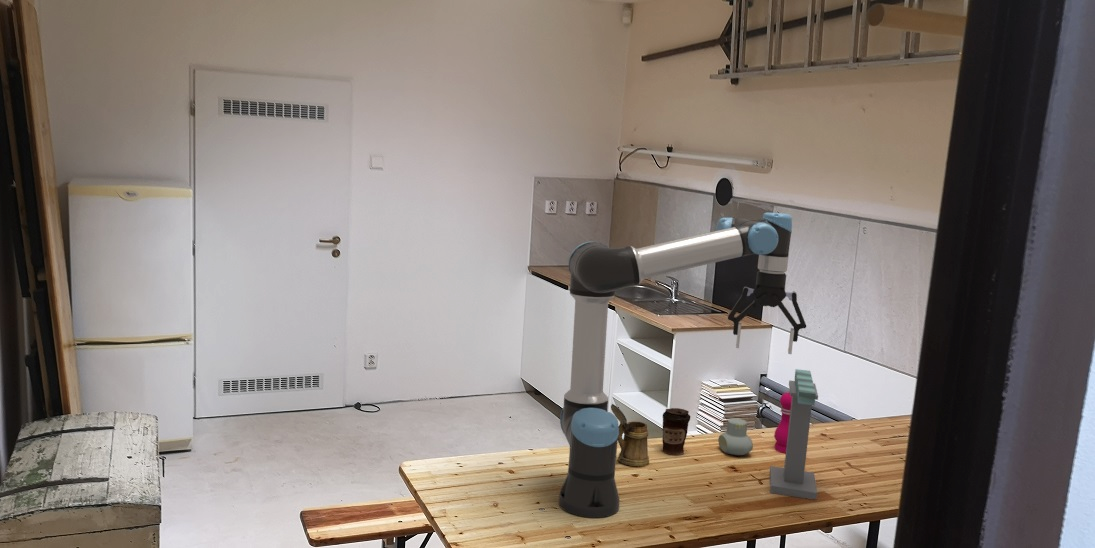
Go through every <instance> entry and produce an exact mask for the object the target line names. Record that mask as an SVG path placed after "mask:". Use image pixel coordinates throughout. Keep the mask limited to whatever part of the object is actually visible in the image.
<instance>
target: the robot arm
mask: <svg viewBox="0 0 1095 548" xmlns="http://www.w3.org/2000/svg"><path fill="white" fill-rule="evenodd" d="M792 228H793V218H792V215H790V214H789V213H780V212H765V213H763V216H762V219H761V218H760V219H751V218H740V217H739V218H738V217H731V216H730V217H722V218H720V219H718V221H717V224H716V227H715V231H711V232H706V233H703V234H697V235H692V236H688V237H683V238H678V239H676V240H670V241H665V242H662V243H661V242H660V243H656V244H652V245H647V246H643V247H639V248H635V247H634V246H632V245H629V246H623V247H608V245H606V244H604V243H602V242H598V241H597V242H596V241H587V242H583V243H581V244H579V245H577V246H576V247H575V248H574V249H573V250H572V252H571V253H570V256H569V259H568V264H567V265H568V270H569V274H570V278H569V279H570V282H569V283H570V284H569V294H570V296H571V297H572V298H573V299H574V316H573V333H572V334H573V337H572V351H571V352H572V353H571V372H570V388H569V389H568V390H567V392H565V393H564V394H563V395H564V396H563V407H562V409H561V411H560V418H559V423H560V429H561V431H562V433H563V435H564V436H565V438H566V441H567V443H568V445H569V452H568V453H569V454H568V455H569V456H568V467H567V468H568V470H567V474H566V477H565V480H564V482H563V485H562V487H561V489H560V491H559V494H558V495H559V496H558V504H559V507H560V508H561V509H562V510H564V511H565V512H567V513H569V514H572V515H575V516H579V517H584V518H605V517H610V516H612V515H615V514H616V513H617V512H618V511H619V510H620V496H619V491H618V488H617V483H616V478H615V474H616V464H617V452H618V435H619V428H618V427H619V420H618V419H617V417H616V416H615V415H614V413H613V412H610V411H609V410H608V407H609V406H608V405H609V396H607V394H606V393H605V392H604V381H605V380H604V378H605V363H606V362H605V360H606V346H607V345H606V344H607V342H606V341H607V328H608V313H609V303H610V301H611V300H612V299H613V298H614V297H615V296H616V294H615V293H616V291H618V290H621V289H625V288H629V287H630V288H631V287H633V286H637V285H640V284H641V283H642V282H643V280H645V279H650V278H654V277H659V276H663V275H667V274H670V273H675V272H679V271H684V270H690V269H692V268H697V267H702V266H707V265H710V264H714V263H718V262H719V263H720V262H722V261H723V262H724V261H727V260H731V259H732V260H733V259H736V258H740V257H741V258H742V257H746V256H751V255H758V262H757V269H758V271H757V272H756V281H755V287H754V288H750V287H748V286H744V287H743V290H742V294H741V295H740V297H739V298H738V300H737V302H736V303H735V304H734V306H733V307H732V309H731V311H730V312H729V314H728V316H727V320H728V321H731V322H732V323H733V329H732V332H733V335H734V336H736V342H735V343H736V344H735V346H736V347H735V348H736V349H740V341H741V330H742V322H741V321H742V320H744V318H745V317H747V315H749V314H750V313H751V312H752V311H753V310H754V309H756V307H757V306H759V305H761V306H762V307H770V308H776V307H778V308H779V309H780V311H781V312H782V313H783V315H784V316H785V318H786V319H787V321H789V323H790V324H791V326H792V328H791V327H790V331H789V333H790V334H789V339H788V340H789V341H788V348H787V354H788V355H792V352H793V343H794V342H795V343H797V341H798V338H799V331H800V330H802V329H807V324H806V321H805V319H804V317H803V314H802V310H801V309H800V306H799V303H798V299H797V297H798V295H797V292H796V291H794V290H793V291H790V292H789V291H788V292H786V283H787V274H786V272H787V271H788V266H789V265H788V263H789V253H790V244H791V237H792V233H793V232H792ZM751 294H753V295H754V297H755V299H754V300H753V301H751V303H750V304H749V305H748V306H747V307H745V309H743V310H742V311H741V312H739V314H738V315H737V316H735V315H736V314H737V312H738V311H739V310H740V308H741V307H742V305H743V303H744V302H745V301H746V299H747V297H749V296H751ZM786 298H788V300H789V301H791V302H792V306H793V308H794V310H795V313H796V316H797V319H798V321H799V323H797V321H796V320H795V318H794V317H793V316H792V314H791V313H790V312H789V310H788V309H787V307H786V306H785V305H784V303H783V300H784V299H786Z"/></svg>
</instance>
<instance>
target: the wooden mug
mask: <svg viewBox="0 0 1095 548" xmlns="http://www.w3.org/2000/svg"><path fill="white" fill-rule="evenodd" d="M610 410H611V413H612V414H613V415H614V416H615V417H616V418H617V420H618V422H619V424H618V428H619V435H618V441H617V444H619V448H620V452H619V453H618V458H617V460H618V461H619V463H620V462H621V463H620V464H622V463H623V464H622V465H624V464H625V465H624V466H627V465H629V466H628V467H632V466H638V467H637V468H640V467H639V466H643V467H645V465H646V466H647V465H649V464H650V456H649V451H648V450H649V449H648V445H649V444H648V436H649V430H648V424H646V423H645V422H641V421H627V418H626V416H625V413H624V412H623V411H622V410H621V409H620V408H619V407H618V406H617V405H615V404H613V403H612V404H611V405H610Z"/></svg>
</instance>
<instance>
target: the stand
mask: <svg viewBox="0 0 1095 548" xmlns="http://www.w3.org/2000/svg"><path fill="white" fill-rule="evenodd" d="M813 385H814V389H815V393H816V396H815V401H816V400H817V401H818V400H819V395H818V394H819V393H818V389H817V385H816V383H814V382H813ZM789 389H790V396H792V401H791V411H790V420H789V429H788V438H787V447H786V453H785V458H784V464H783V465H784V466H783V467H780V466H772V465H770V469H769V490H770V491H769V493H770V494H775V495H776V494H777V495H781V496H788V497H795V498H800V499H806V498H807V499H809V500H813V499H815V500H814V501H817V499H818V488H817V482H816V478H815V472H812V471H806V470H805V469H806V460H807V454H808V453H807V450H808V443H809V433H810V427H811V425H810V424H811V416H812V409H813V405H808V404H800V403H798V400H797V393H796V386H795V380H791V379H790V380H788V390H789Z"/></svg>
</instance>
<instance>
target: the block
mask: <svg viewBox="0 0 1095 548" xmlns="http://www.w3.org/2000/svg"><path fill="white" fill-rule="evenodd" d="M794 381H795V386H796V393H797V400H798V403H800V404H808V405H812V406H815V404H816V400H815V396H816V393H815V389H814V385H813V383H814V380H813V377H812V373H811V370H808V369H807V370H805V369H798V368H796V369H795V370H794Z"/></svg>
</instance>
